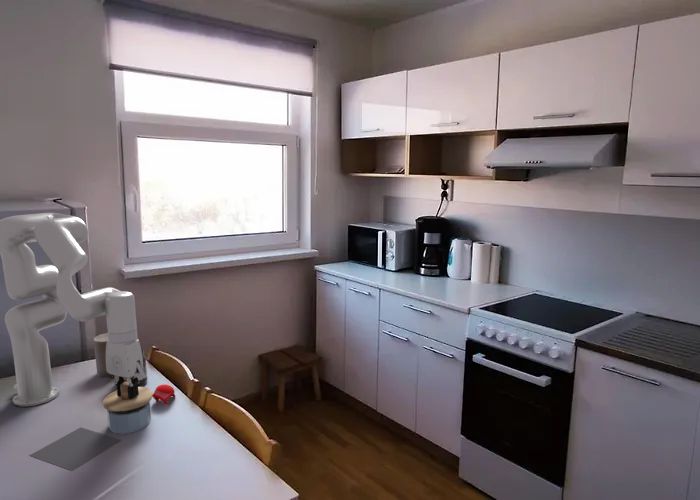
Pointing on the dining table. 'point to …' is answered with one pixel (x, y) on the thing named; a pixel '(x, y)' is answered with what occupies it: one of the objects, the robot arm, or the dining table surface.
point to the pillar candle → (101, 355)
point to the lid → (126, 399)
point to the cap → (163, 393)
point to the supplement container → (143, 371)
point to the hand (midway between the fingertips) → (128, 395)
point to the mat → (75, 448)
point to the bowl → (129, 419)
